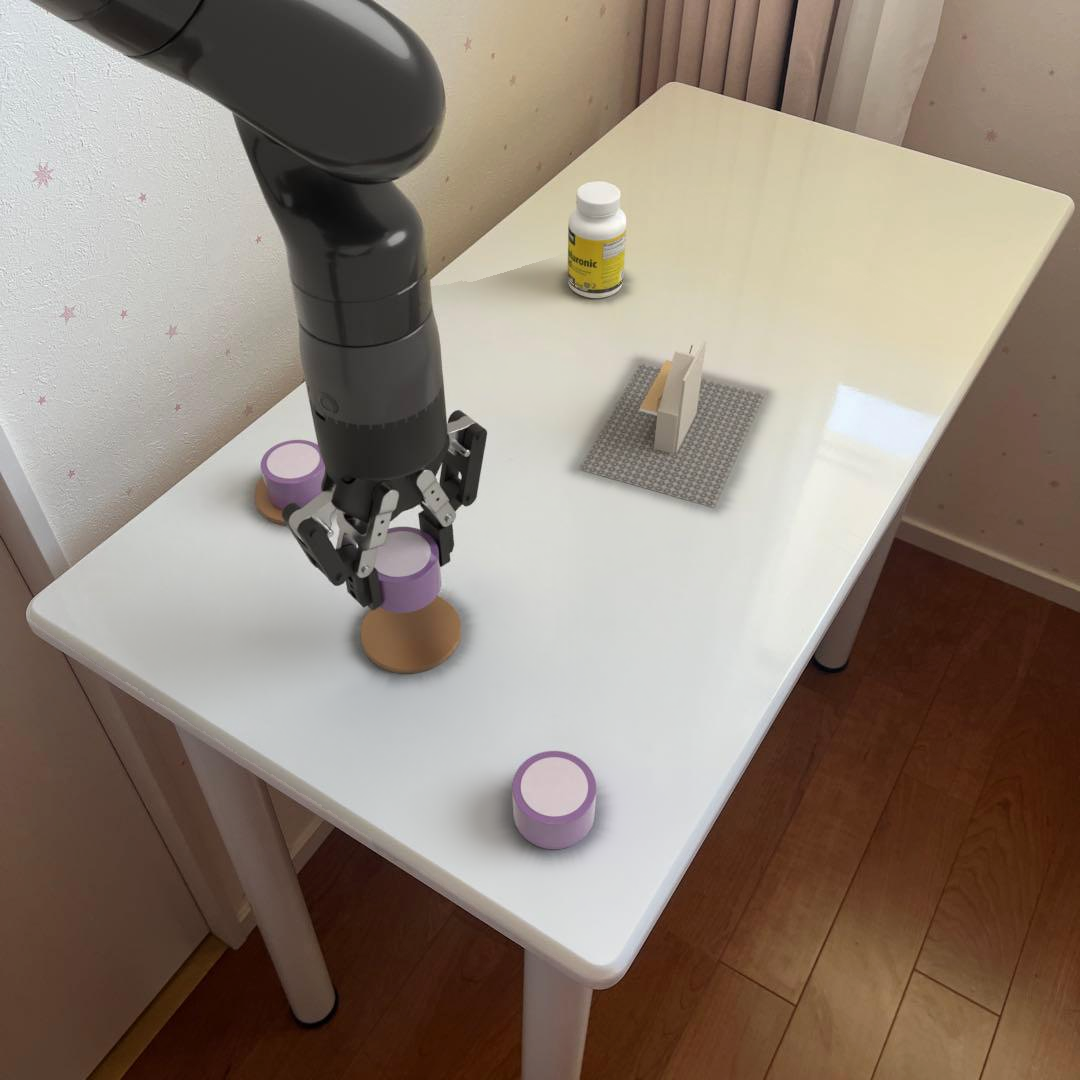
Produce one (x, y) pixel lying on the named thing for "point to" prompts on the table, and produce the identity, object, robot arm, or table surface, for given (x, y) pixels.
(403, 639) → the brown wooden coaster
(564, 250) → the table surface
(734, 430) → the architectural model
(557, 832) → the purple rimmed puck
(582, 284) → the supplement bottle
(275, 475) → the purple short cylinder
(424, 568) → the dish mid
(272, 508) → the coaster far
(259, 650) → the table surface
